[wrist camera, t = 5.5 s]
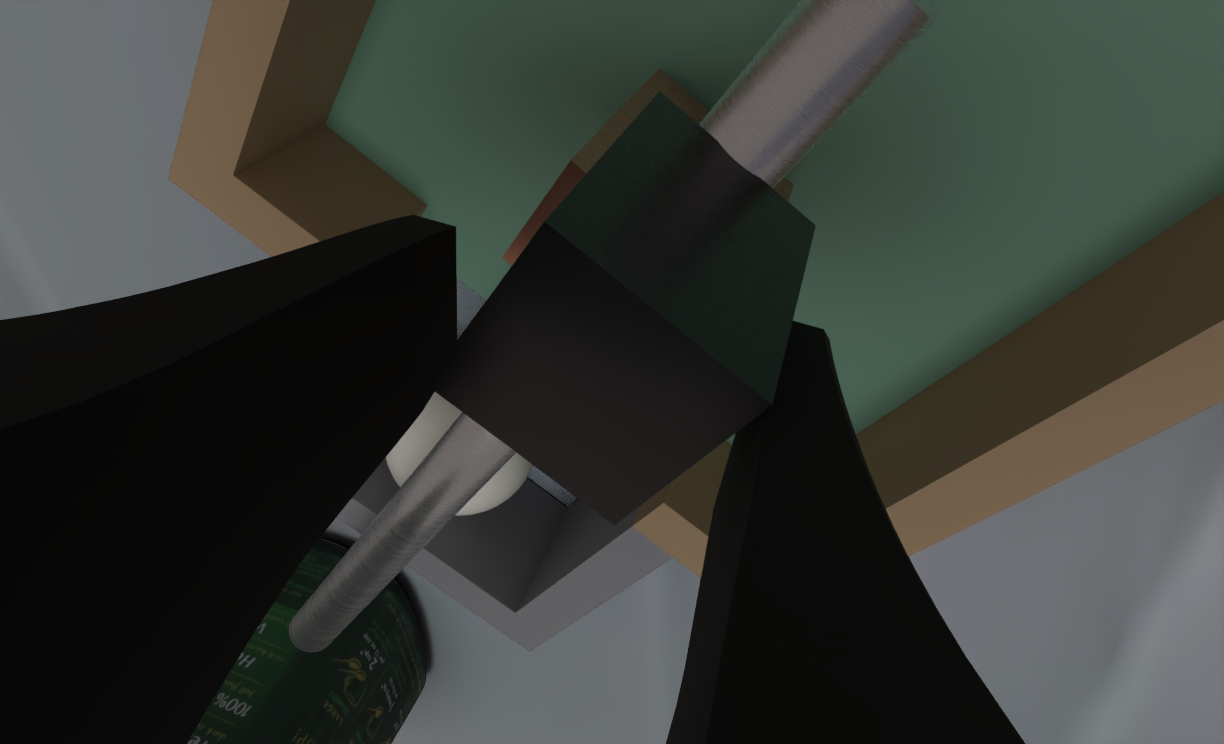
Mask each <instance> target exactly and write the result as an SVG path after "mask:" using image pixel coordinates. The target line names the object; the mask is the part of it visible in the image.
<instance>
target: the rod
mask: <svg viewBox="0 0 1224 744" xmlns="http://www.w3.org/2000/svg"><path fill="white" fill-rule="evenodd" d="M937 20H938V17H937V14H936V12H935V11H934V9H933V8H932V6H931V5H930V4H929V2H928V1H927V0H801V1H800V2H799V3H798V4H797V6H796V7H795V8H794V9H793V10H792V12H791V13H790V14H789V15H788V17H787V18H786V19H785V20H784V21H783V23H782V24H781V25H780V26H779V27H778V29H777V30H776V31H775V32H774V34H773V35H772V36H771V37H770V38H769V40H768V41H767V42H766V43H765V44H764V46H763V47H762V48H761V49H760V51H759V52H758V53H757V54H756V55H755V57H754V58H753V59H752V60H751V62H750V63H749V64H748V65H747V66H746V68H745V69H744V70H743V71H742V72H741V74H740V75H739V76H738V77H737V79H736V80H735V81H734V82H733V83H732V85H731V86H730V87H729V88H728V89H727V91H726V92H725V93H724V94H723V96H722V97H721V98H720V99H719V100H718V102H717V103H716V104H715V105H714V106H713V108H712V109H711V110H710V111H708V110H707V109H706V108H705V107H704V106H703V105H702V104H700V103H699V102H698V101H697V100H696V99H695V98H693V97H692V96H691V95H690V94H689V93H688V92H687V91H685V90H684V89H683V88H682V87H681V86H680V85H678V84H677V83H676V82H675V81H674V80H673V79H672V78H670V77H669V76H668V75H667V74H666V73H665V72H663V71H662V70H661V69H660V68H659V69H658V70H657V71H656V72H655V73H654V74H653V75H652V76H651V77H650V78H649V79H648V80H647V81H646V82H645V83H644V84H643V85H642V86H641V88H640V89H639V90H638V91H637V92H636V93H635V94H634V95H633V96H632V97H631V98H630V99H629V100H628V101H627V102H626V103H625V104H624V105H623V106H622V107H621V108H620V109H619V110H618V111H617V113H616V114H615V115H614V116H613V117H612V118H611V119H610V120H609V121H608V122H607V123H606V124H605V125H604V126H603V127H602V128H601V129H600V130H599V131H598V132H597V133H596V134H595V135H594V136H593V138H592V139H591V140H590V141H589V142H588V143H587V144H586V145H585V146H584V147H583V148H582V149H581V150H580V151H579V152H578V153H577V154H576V155H575V156H574V157H573V158H572V159H571V161H570V162H569V163H568V165H567V166H566V168H565V169H564V170H563V172H562V173H561V175H560V176H559V177H558V179H557V180H556V182H555V183H554V184H553V186H552V187H551V189H550V190H549V192H548V193H547V194H546V196H545V197H544V199H543V200H542V201H541V203H540V204H539V206H538V207H537V208H536V210H535V211H534V213H533V214H532V216H531V217H530V218H529V220H528V221H527V223H526V224H525V225H524V227H523V228H522V230H521V231H520V232H519V234H518V235H517V237H516V238H515V240H514V241H513V242H512V244H511V245H510V247H509V248H508V249H507V251H506V252H505V254H504V255H503V256H502V258H503V259H505V260H506V261H507V262H508V263H510V264H511V265H512V266H511V268H510V269H509V270H508V272H507V273H506V275H505V276H504V277H503V279H502V280H501V281H500V283H499V284H498V286H497V287H496V288H495V290H494V291H493V292H492V294H491V295H490V297H489V298H488V299H487V301H486V302H485V303H484V305H483V306H482V307H481V309H480V310H479V312H478V313H477V314H476V316H475V317H474V318H473V320H472V321H471V323H470V324H469V325H468V327H467V328H466V329H465V331H464V332H463V334H462V335H461V336H460V338H459V339H458V340H457V342H456V343H455V344H454V346H453V347H452V349H451V350H450V351H449V353H448V354H447V355H446V357H445V358H444V360H443V361H442V362H441V364H440V365H439V366H438V368H437V369H436V371H435V372H434V373H433V375H432V376H431V377H430V379H429V380H428V381H427V383H426V384H425V385H427V386H428V387H429V388H431V389H432V390H433V391H435V392H436V393H437V394H439V395H440V396H441V397H443V398H444V399H445V400H447V401H448V402H449V403H451V404H452V405H454V406H455V407H456V408H458V409H459V410H460V411H462V413H461V414H460V415H459V417H458V418H457V419H456V420H455V421H454V423H453V424H452V425H451V426H450V428H449V429H448V430H447V431H446V432H445V434H444V435H443V436H442V437H441V438H440V440H439V441H438V442H437V443H436V445H435V446H434V447H433V448H432V449H431V451H430V452H429V453H428V454H427V456H426V457H425V458H424V459H423V460H422V462H421V463H420V464H419V465H418V466H417V468H416V469H415V470H414V471H413V473H412V474H411V475H410V476H409V477H408V479H407V480H406V481H405V482H404V483H403V485H402V486H401V487H400V488H399V490H398V491H397V492H396V493H395V494H394V496H393V497H392V498H391V499H390V501H389V502H388V503H387V504H386V505H385V507H384V508H383V509H382V510H381V511H380V513H379V514H378V515H377V516H376V518H375V519H374V520H373V521H372V522H371V524H370V525H369V526H368V527H367V528H366V530H365V531H364V532H363V533H362V535H361V536H360V537H359V538H358V539H357V541H356V542H355V543H354V544H353V546H352V547H351V548H350V549H349V550H348V552H347V553H346V554H345V555H344V556H343V558H342V559H341V560H340V561H339V563H338V564H337V565H336V566H335V567H334V569H333V570H332V571H331V572H330V573H329V575H328V576H327V577H326V578H325V580H324V581H323V582H322V583H321V584H320V586H319V587H318V588H317V589H316V591H315V592H314V593H313V594H312V595H311V597H310V598H309V599H308V600H307V601H306V603H305V604H304V605H303V606H302V608H301V609H300V610H299V611H298V612H297V614H296V615H295V616H294V617H293V619H292V620H291V623H290V626H289V636H290V639H291V641H292V643H293V644H294V645H295V646H296V647H297V648H298V649H300V650H302V651H304V652H309V653H313V652H318V651H321V650H323V649H325V648H326V647H327V646H328V645H329V644H330V643H331V642H332V641H333V640H334V639H335V638H336V637H337V636H338V635H339V634H340V633H341V632H342V631H343V630H344V629H345V628H346V627H347V626H348V625H349V624H350V623H351V622H352V621H353V620H354V618H355V617H356V616H357V615H358V614H359V613H360V612H361V611H362V610H363V609H364V608H365V607H366V606H367V605H368V604H369V603H370V602H371V601H372V600H373V599H374V598H375V597H376V596H377V595H378V594H379V593H380V592H381V591H382V590H383V589H384V588H385V587H386V586H387V585H388V584H389V583H390V582H391V580H392V579H393V578H394V577H395V576H396V575H397V574H398V573H399V572H400V571H401V570H402V569H403V568H404V567H405V566H406V565H407V564H408V563H409V562H410V561H411V560H412V559H413V558H414V557H415V556H416V555H417V554H418V553H419V552H420V551H421V550H422V549H423V548H424V547H425V546H426V545H427V544H428V542H429V541H430V540H431V539H432V538H433V537H434V536H435V535H436V534H437V533H438V532H439V531H440V530H441V529H442V528H443V527H444V526H445V525H446V524H447V523H448V522H449V521H450V520H451V519H452V518H453V517H454V516H455V515H456V514H457V513H458V512H459V511H460V510H461V509H462V508H463V507H464V506H465V504H466V503H467V502H468V501H469V500H470V499H471V498H472V497H473V496H474V495H475V494H476V493H477V492H478V491H479V490H480V489H481V488H482V487H483V486H484V485H485V484H486V483H487V482H488V481H489V480H490V479H491V478H492V477H493V476H494V475H495V474H496V473H497V472H498V471H499V470H500V469H501V468H502V467H503V465H504V464H505V463H506V462H507V461H508V460H509V459H510V458H511V457H512V456H513V455H514V454H515V453H516V452H517V453H518V454H519V455H521V456H522V457H523V458H525V459H526V460H527V461H529V462H530V463H531V464H533V465H534V466H535V467H537V468H538V469H539V470H541V471H542V472H543V473H545V474H546V475H547V476H549V477H550V478H551V479H553V480H554V481H555V482H557V483H558V484H559V485H561V486H562V487H563V488H565V489H566V490H567V491H569V492H570V493H572V494H573V495H574V496H576V497H577V498H578V499H580V500H581V501H582V502H584V503H585V504H586V505H588V506H589V507H590V508H592V509H593V510H594V511H596V512H597V513H598V514H600V515H601V516H602V517H604V518H605V519H606V520H608V521H609V522H610V523H612V524H613V525H616V524H617V523H618V522H620V521H621V520H622V519H624V518H625V517H626V516H627V515H629V514H630V513H631V512H633V511H634V510H635V509H637V508H638V507H639V506H641V505H642V504H643V503H645V502H646V501H647V500H648V499H650V498H651V497H652V496H654V495H655V494H656V493H658V492H659V491H660V490H662V489H663V488H664V487H665V486H667V485H668V484H669V483H671V482H672V481H673V480H675V479H676V478H677V477H679V476H680V475H681V474H683V473H684V472H685V471H686V470H688V469H689V468H690V467H692V466H693V465H694V464H696V463H697V462H698V461H700V460H701V459H702V458H703V457H705V456H706V455H707V454H709V453H710V452H711V451H713V450H714V449H715V448H717V447H718V446H719V445H721V444H722V443H723V442H724V441H726V440H727V439H728V438H730V437H731V436H732V435H734V434H735V433H736V432H738V431H739V430H740V429H742V428H743V427H744V426H745V425H747V424H748V423H749V422H751V421H752V420H753V419H755V418H756V417H757V416H759V415H760V414H761V413H762V412H764V411H765V410H766V409H768V408H769V407H770V406H772V404H773V400H774V396H775V392H776V388H777V384H778V379H779V375H780V371H781V367H782V363H783V359H784V355H785V351H786V346H787V342H788V338H789V334H790V330H791V326H792V322H793V318H794V314H795V309H796V305H797V301H798V297H799V293H800V289H801V285H802V281H803V277H804V272H805V268H806V264H807V260H808V256H809V252H810V248H811V244H812V239H813V235H814V231H815V227H816V225H815V224H814V223H812V222H811V221H810V220H809V219H808V218H807V217H805V216H804V215H803V214H802V213H801V212H800V211H798V210H797V209H796V208H795V207H794V206H793V205H792V204H790V203H789V202H788V201H789V198H790V195H791V192H792V189H793V186H794V184H793V183H791V182H790V181H789V180H788V179H787V178H786V177H785V176H786V175H787V174H788V173H789V172H790V171H791V170H792V169H793V168H794V167H795V166H796V165H797V164H798V163H799V161H800V160H801V159H802V158H803V157H804V156H805V155H806V154H807V153H808V152H809V151H810V150H811V149H812V148H813V147H814V146H815V145H816V144H817V143H818V142H819V141H820V140H821V139H822V138H823V137H824V136H825V135H826V134H827V133H828V132H829V131H830V130H831V129H832V128H833V127H834V126H835V125H836V123H837V122H838V121H839V120H840V119H841V118H842V117H843V116H844V115H845V114H846V113H847V112H848V111H849V110H850V109H851V108H852V107H853V106H854V105H855V104H856V103H857V102H858V101H859V100H860V99H861V98H862V97H863V96H864V95H865V94H866V93H867V92H868V91H869V90H870V89H871V88H872V87H873V85H874V84H875V83H876V82H877V81H878V80H879V79H880V78H881V77H882V76H883V75H884V74H885V73H886V72H887V71H888V70H889V69H890V68H891V67H892V66H893V65H894V64H895V63H896V62H897V61H898V60H899V59H900V58H901V57H902V56H903V55H904V54H905V53H906V52H907V51H908V50H909V49H910V47H911V46H912V45H913V44H914V43H915V42H916V41H917V40H918V39H919V38H920V37H921V36H922V35H923V34H924V33H925V32H926V31H927V30H928V29H929V28H930V27H931V26H932V25H933V24H934V23H935V22H936V21H937Z"/></svg>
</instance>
